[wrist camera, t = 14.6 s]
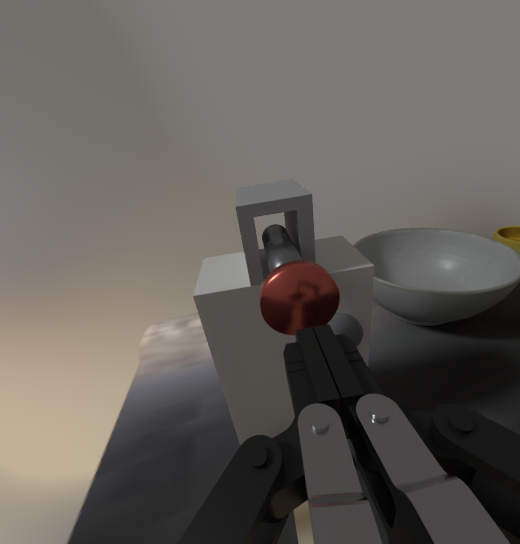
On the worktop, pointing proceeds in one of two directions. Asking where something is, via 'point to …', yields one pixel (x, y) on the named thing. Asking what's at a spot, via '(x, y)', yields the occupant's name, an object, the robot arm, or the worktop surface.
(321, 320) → the ball
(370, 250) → the decorative bowl
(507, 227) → the plant pot
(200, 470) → the worktop surface
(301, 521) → the rail
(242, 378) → the grey tall flat block
